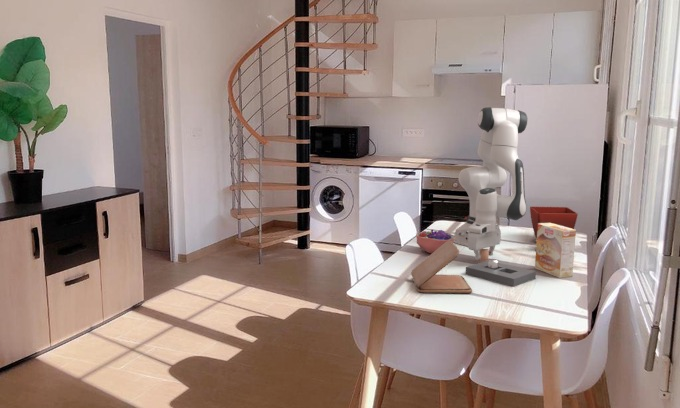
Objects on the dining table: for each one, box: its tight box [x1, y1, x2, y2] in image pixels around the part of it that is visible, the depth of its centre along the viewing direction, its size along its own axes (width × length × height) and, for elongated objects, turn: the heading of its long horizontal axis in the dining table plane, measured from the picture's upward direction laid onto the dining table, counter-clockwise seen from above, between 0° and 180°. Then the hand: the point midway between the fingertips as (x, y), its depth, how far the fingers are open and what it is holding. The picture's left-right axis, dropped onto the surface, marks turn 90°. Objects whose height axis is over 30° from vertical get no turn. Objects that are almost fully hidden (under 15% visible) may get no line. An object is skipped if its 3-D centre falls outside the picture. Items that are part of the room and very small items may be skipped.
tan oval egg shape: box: [478, 248, 490, 263], centre depth 242 cm, size 4×4×6 cm
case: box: [410, 241, 473, 294], centre depth 209 cm, size 20×21×16 cm
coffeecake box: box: [534, 223, 577, 279], centre depth 228 cm, size 15×7×20 cm, turn 20°
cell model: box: [415, 229, 456, 254], centre depth 260 cm, size 17×20×11 cm
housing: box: [465, 260, 537, 287], centre depth 223 cm, size 22×16×3 cm
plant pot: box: [529, 206, 578, 240], centre depth 282 cm, size 19×19×17 cm
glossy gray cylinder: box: [488, 258, 499, 270], centre depth 225 cm, size 4×4×6 cm
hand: (484, 257), depth 242 cm, fingers open, 8 cm apart
